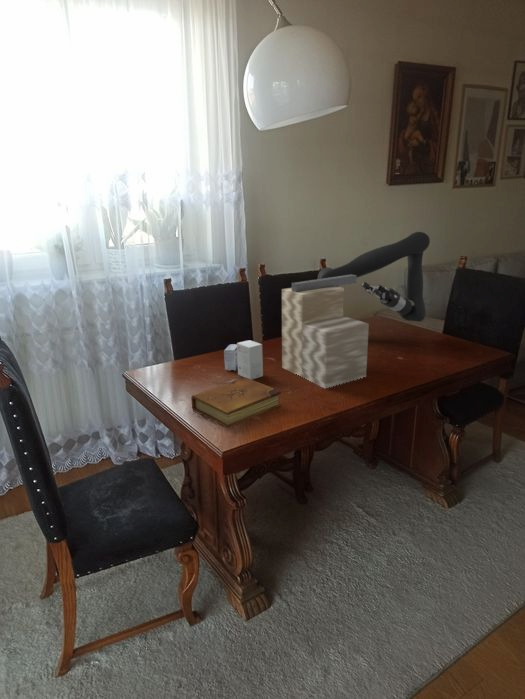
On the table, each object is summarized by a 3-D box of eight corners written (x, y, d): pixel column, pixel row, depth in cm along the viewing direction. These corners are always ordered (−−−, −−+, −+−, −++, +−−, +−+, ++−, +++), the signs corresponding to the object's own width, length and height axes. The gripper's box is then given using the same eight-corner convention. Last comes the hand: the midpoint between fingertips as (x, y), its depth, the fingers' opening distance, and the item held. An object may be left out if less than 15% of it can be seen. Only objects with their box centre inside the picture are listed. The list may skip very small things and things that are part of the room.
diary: (244, 391, 182) (244, 376, 180) (281, 407, 169) (281, 391, 167) (192, 410, 167) (191, 394, 165) (227, 428, 154) (227, 411, 152)
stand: (282, 367, 203) (281, 289, 193) (320, 358, 213) (322, 283, 203) (325, 388, 181) (327, 301, 171) (366, 377, 192) (370, 294, 182)
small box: (263, 376, 194) (262, 344, 190) (250, 380, 190) (249, 347, 186) (250, 370, 200) (249, 339, 196) (237, 374, 196) (236, 342, 192)
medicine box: (235, 371, 200) (234, 350, 197) (224, 370, 201) (223, 349, 198) (240, 364, 207) (239, 344, 205) (229, 363, 208) (229, 343, 206)
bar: (291, 290, 189) (291, 283, 188) (351, 281, 205) (351, 274, 204) (296, 292, 187) (296, 284, 186) (356, 282, 202) (356, 275, 201)
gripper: (384, 289, 225) (361, 274, 215) (409, 294, 213) (386, 279, 203) (377, 304, 225) (354, 291, 215) (402, 310, 213) (379, 296, 204)
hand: (370, 285), depth 209 cm, fingers open, 8 cm apart
